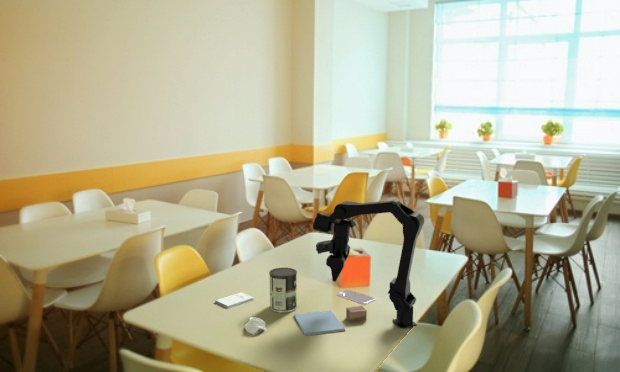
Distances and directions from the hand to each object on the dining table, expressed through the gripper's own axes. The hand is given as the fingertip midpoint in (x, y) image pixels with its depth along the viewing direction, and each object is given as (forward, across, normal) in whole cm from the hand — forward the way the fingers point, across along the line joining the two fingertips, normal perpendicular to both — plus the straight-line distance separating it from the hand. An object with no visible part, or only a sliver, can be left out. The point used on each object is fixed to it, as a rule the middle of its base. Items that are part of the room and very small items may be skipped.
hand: (336, 276), depth 191 cm
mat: (+13, +12, -3) cm, 18 cm away
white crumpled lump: (+16, +21, -23) cm, 35 cm away
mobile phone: (+14, -15, +7) cm, 21 cm away
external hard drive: (+18, -1, -38) cm, 42 cm away
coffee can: (+16, +1, -18) cm, 24 cm away
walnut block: (+12, +6, +10) cm, 17 cm away
